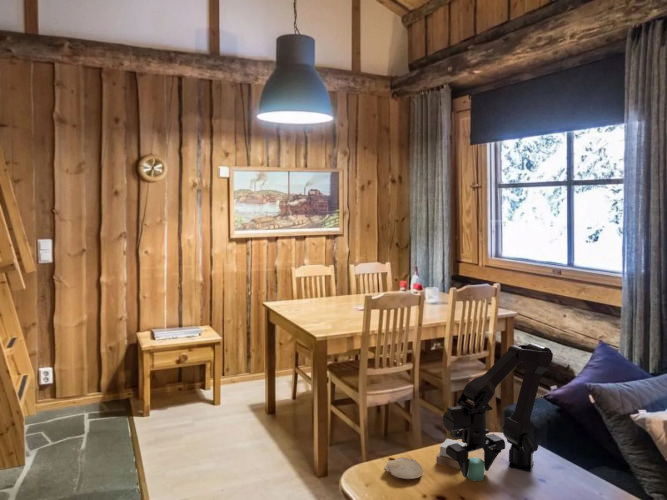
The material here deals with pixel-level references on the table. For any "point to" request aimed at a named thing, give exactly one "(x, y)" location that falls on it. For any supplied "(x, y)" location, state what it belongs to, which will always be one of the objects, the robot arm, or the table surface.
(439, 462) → the walnut base
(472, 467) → the teal cylinder
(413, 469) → the seashell
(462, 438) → the robot arm
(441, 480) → the table surface
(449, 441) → the grey block
